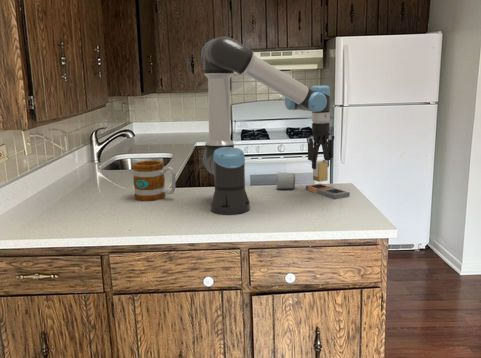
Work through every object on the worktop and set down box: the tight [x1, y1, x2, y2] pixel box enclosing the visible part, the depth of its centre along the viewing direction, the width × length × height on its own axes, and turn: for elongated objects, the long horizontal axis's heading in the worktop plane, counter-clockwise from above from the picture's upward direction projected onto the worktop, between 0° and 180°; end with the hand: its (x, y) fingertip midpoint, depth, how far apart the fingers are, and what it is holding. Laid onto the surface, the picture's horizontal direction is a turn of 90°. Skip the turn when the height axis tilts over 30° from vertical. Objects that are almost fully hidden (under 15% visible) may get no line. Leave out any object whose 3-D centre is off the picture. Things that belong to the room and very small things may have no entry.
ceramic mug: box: [276, 171, 296, 190], centre depth 212 cm, size 11×8×8 cm
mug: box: [131, 160, 176, 202], centre depth 199 cm, size 20×14×15 cm
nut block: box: [312, 160, 329, 183], centre depth 205 cm, size 4×4×8 cm
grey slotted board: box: [305, 183, 351, 200], centre depth 202 cm, size 8×20×2 cm, turn 28°
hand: (320, 175), depth 205 cm, fingers closed on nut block, 4 cm apart
